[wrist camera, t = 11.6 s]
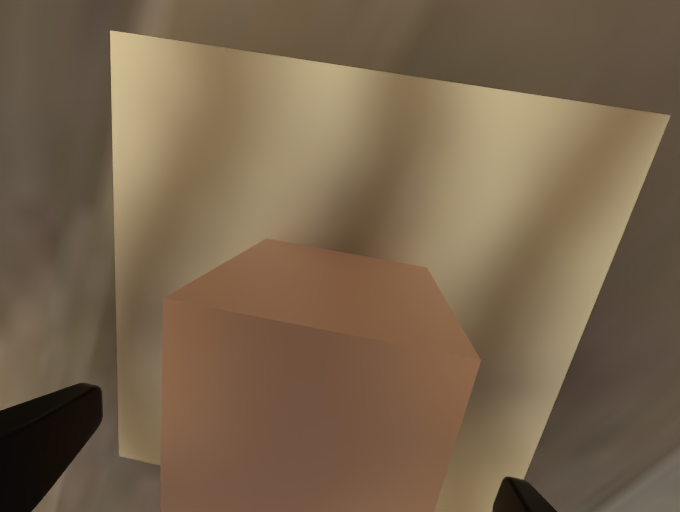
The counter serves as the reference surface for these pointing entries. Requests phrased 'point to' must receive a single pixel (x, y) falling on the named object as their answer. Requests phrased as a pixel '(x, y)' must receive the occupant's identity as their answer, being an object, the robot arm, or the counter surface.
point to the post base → (372, 214)
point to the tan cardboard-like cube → (310, 385)
